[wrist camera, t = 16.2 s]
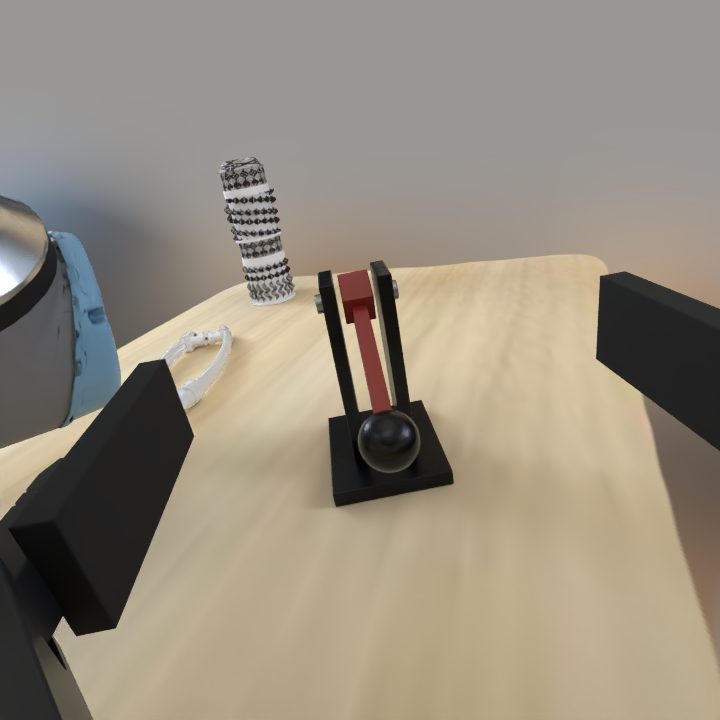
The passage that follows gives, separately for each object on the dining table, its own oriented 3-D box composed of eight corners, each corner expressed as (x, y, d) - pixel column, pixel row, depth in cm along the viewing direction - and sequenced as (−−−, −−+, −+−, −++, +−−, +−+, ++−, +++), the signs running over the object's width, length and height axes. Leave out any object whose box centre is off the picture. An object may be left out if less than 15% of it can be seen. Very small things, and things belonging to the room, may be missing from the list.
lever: (426, 476, 28) (427, 448, 25) (366, 488, 28) (360, 461, 25) (379, 296, 37) (375, 261, 34) (333, 305, 37) (326, 270, 34)
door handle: (119, 430, 53) (183, 344, 75) (206, 415, 53) (244, 333, 75) (110, 409, 52) (178, 329, 74) (199, 394, 51) (239, 317, 74)
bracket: (453, 483, 36) (431, 280, 29) (335, 507, 35) (286, 307, 29) (422, 410, 46) (400, 247, 39) (330, 428, 45) (293, 267, 39)
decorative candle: (306, 294, 90) (274, 152, 80) (261, 310, 86) (221, 162, 75) (285, 288, 97) (253, 157, 87) (243, 301, 93) (204, 165, 83)
